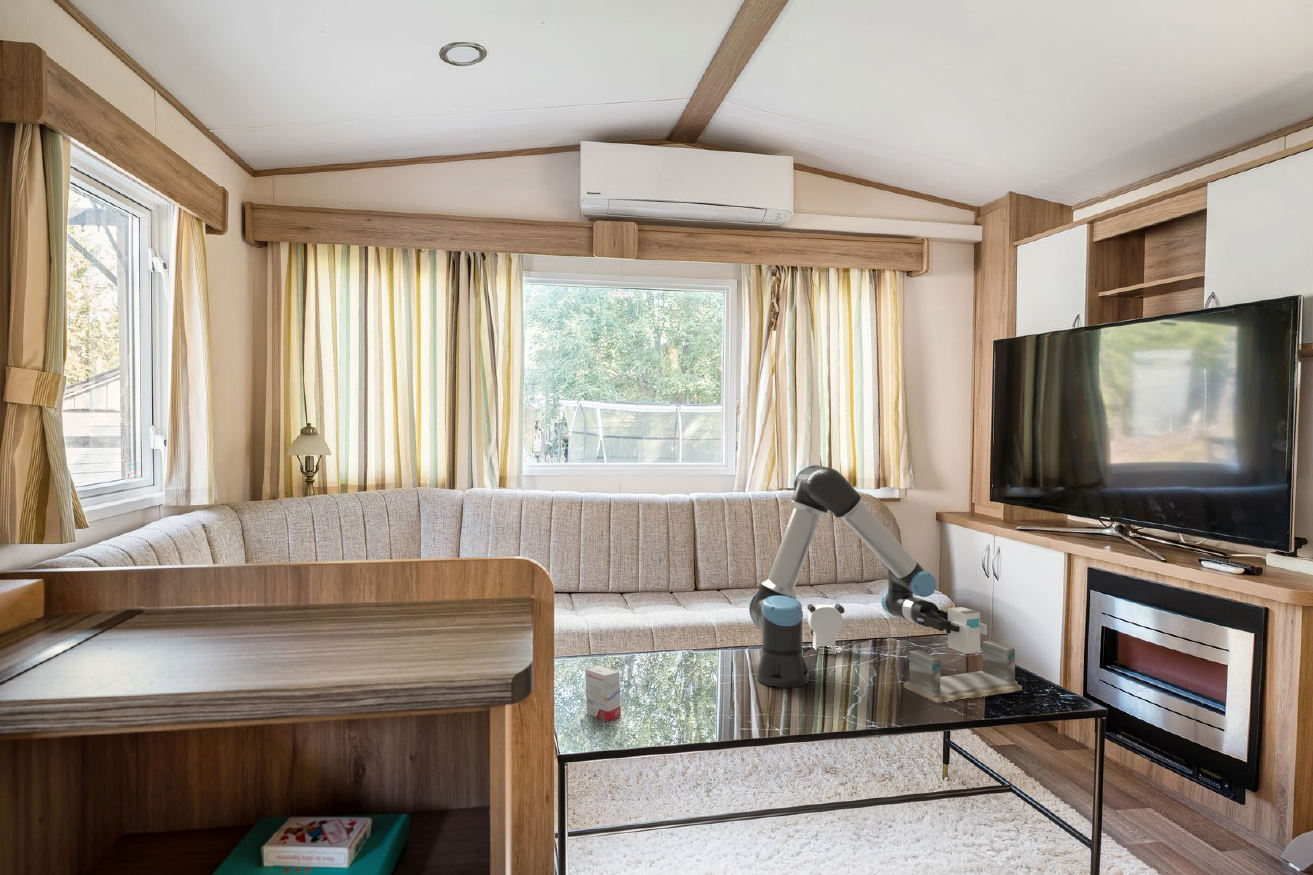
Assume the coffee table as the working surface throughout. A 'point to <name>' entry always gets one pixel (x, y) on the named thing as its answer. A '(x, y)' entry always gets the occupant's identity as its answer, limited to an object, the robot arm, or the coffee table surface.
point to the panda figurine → (825, 624)
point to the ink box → (603, 693)
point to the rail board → (964, 676)
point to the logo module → (968, 619)
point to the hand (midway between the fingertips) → (977, 630)
